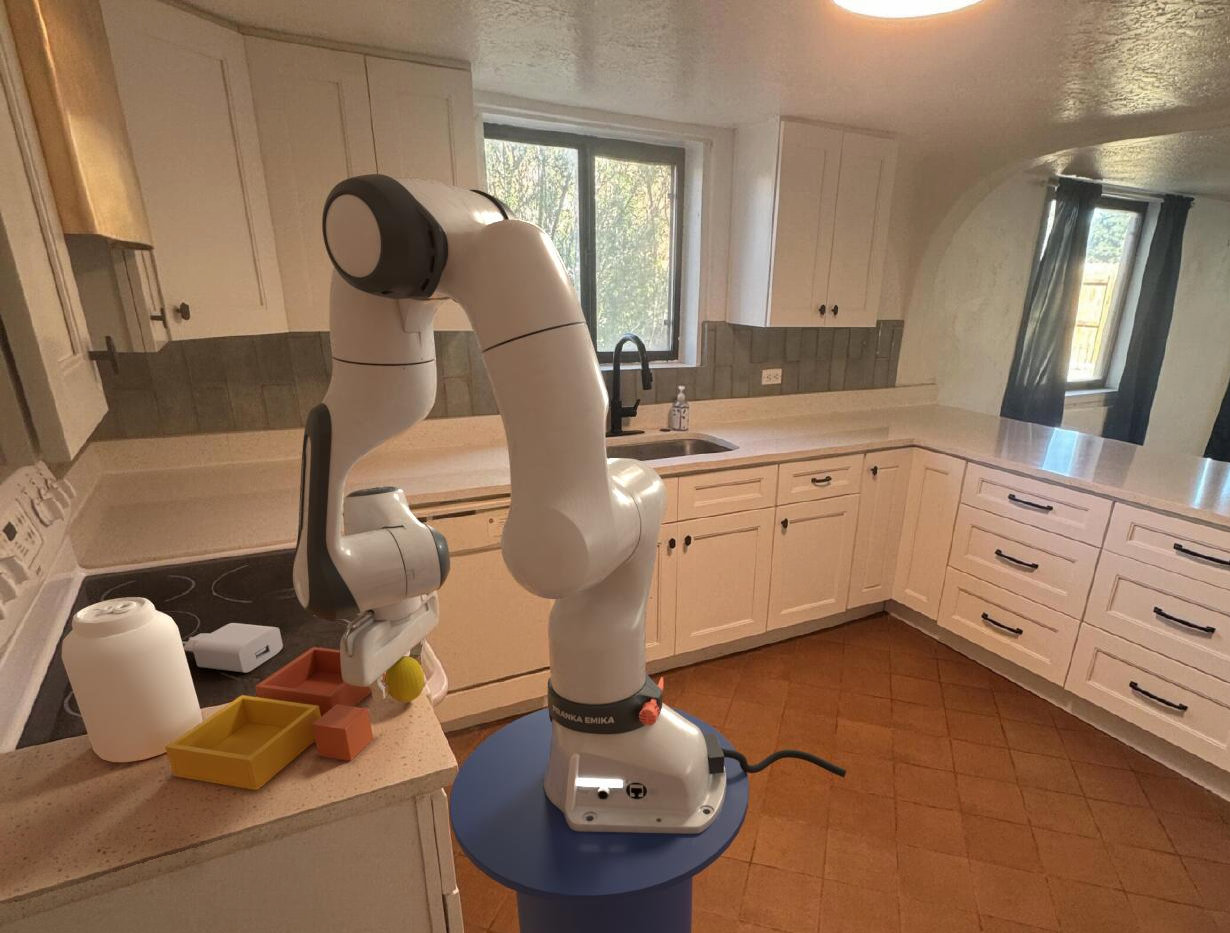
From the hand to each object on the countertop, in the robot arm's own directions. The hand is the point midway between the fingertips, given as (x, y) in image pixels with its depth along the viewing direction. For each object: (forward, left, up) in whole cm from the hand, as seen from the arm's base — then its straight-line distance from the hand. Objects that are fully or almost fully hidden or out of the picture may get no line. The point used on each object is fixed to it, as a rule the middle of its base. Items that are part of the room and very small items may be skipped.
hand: (399, 680), depth 104 cm
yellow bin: (+13, +16, -4) cm, 21 cm away
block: (+1, +12, -4) cm, 12 cm away
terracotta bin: (+13, +1, -4) cm, 13 cm away
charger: (+37, -6, -4) cm, 38 cm away
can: (+29, +16, -4) cm, 33 cm away
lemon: (-1, 0, -4) cm, 4 cm away
